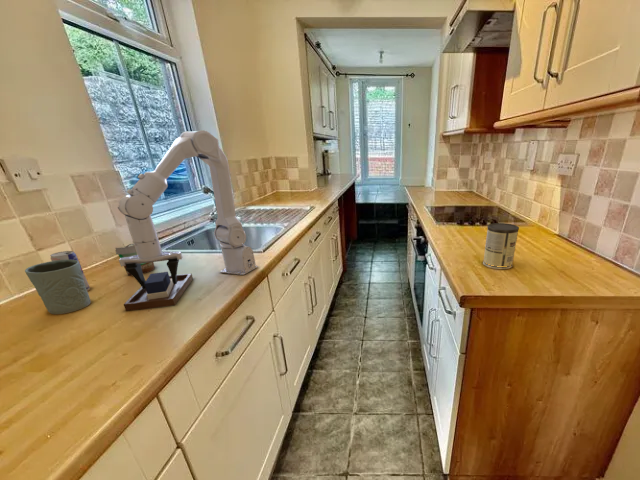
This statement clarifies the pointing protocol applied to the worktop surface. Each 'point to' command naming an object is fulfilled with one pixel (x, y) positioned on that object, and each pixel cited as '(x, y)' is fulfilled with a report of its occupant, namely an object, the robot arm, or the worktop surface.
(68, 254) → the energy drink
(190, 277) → the tray
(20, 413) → the worktop surface
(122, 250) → the food container
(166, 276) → the board eraser
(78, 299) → the grey plant pot
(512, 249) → the coffee can
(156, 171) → the robot arm
